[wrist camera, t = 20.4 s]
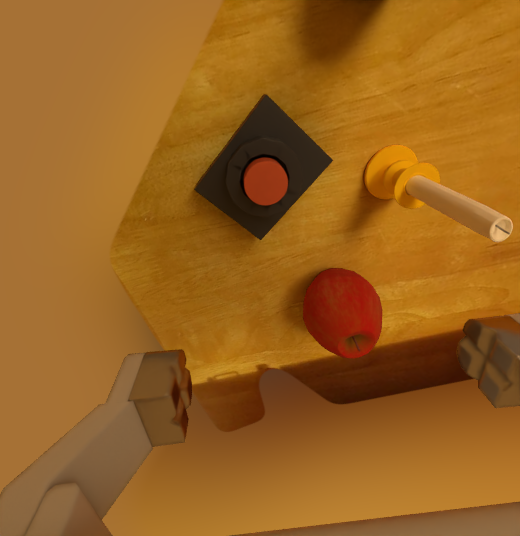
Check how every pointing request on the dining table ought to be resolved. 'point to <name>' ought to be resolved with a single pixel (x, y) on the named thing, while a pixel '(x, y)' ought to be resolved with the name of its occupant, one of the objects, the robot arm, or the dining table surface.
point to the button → (265, 181)
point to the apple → (343, 313)
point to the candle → (429, 191)
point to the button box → (257, 146)
